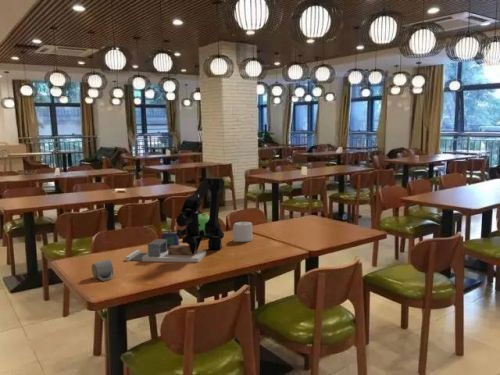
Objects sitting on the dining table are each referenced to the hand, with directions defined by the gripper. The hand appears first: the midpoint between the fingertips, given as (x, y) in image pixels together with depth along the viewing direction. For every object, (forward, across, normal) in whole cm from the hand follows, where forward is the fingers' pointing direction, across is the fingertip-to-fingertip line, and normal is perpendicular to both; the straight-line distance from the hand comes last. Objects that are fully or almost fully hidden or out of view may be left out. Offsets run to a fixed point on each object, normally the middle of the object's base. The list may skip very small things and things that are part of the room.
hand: (194, 252), depth 229 cm
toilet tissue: (+3, -39, +18) cm, 43 cm away
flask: (+3, -19, -20) cm, 28 cm away
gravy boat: (+3, -51, -9) cm, 52 cm away
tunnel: (+1, 0, -20) cm, 20 cm away
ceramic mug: (+3, +33, -33) cm, 47 cm away
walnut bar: (+1, 0, -6) cm, 7 cm away
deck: (+3, 0, -15) cm, 16 cm away
